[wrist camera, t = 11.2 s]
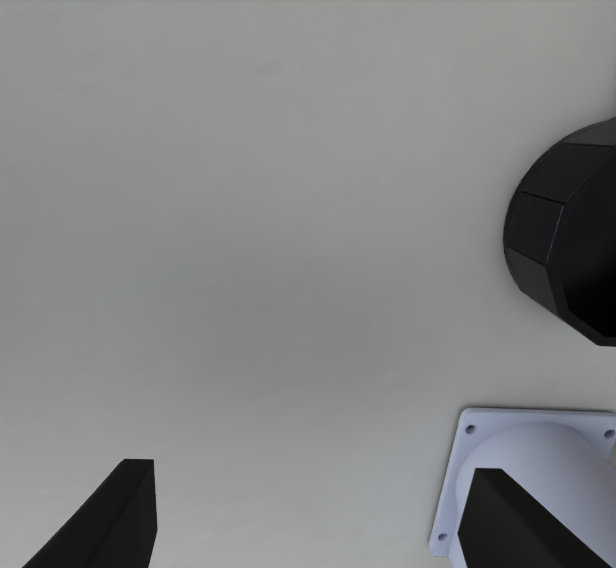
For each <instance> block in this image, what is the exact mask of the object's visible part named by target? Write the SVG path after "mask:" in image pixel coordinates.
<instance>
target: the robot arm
mask: <svg viewBox="0 0 616 568" xmlns="http://www.w3.org/2000/svg"><path fill="white" fill-rule="evenodd" d="M469 425H472V427H470V428H467V427H468V426H469ZM466 428H467V429H466ZM615 442H616V414H615V413H610V412H582V411H555V410H528V409H501V408H474V407H472V408H468V409H465V410H464V411H463V412H462V413H461V415H460V419H459V423H458V427H457V431H456V435H455V439H454V443H453V447H452V451H451V456H450V460H449V464H448V468H447V472H446V476H445V480H444V484H443V488H442V492H441V496H440V500H439V504H438V508H437V512H436V516H435V520H434V524H433V528H432V532H431V536H430V540H429V544H428V547H429V550H430V553H431V554H432V555H433V556H437V557H449V560H450V562H451V565H452V568H616V469H615V468H614V467H613V466H612V465H611V464H610V463H609V462H608V459H609V456H610V454H611V452H612V449H613V447H614V444H615ZM156 534H157V512H156V494H155V476H154V460H152V459H124V460H123V461H121V462H120V463H119V464H118V465H117V467H116V468H115V469H114V470H113V471H112V472H111V473H110V475H109V476H108V477H107V478H106V479H105V480H104V481H103V482H102V484H101V485H100V486H99V487H98V488H97V489H96V490H95V492H94V493H93V494H92V495H91V496H90V497H89V498H88V499H87V500H86V502H85V503H84V504H83V505H82V506H81V507H80V508H79V509H78V510H77V511H76V512H75V514H74V515H73V516H72V517H71V518H70V519H69V520H68V521H67V522H66V523H65V524H64V525H63V526H62V527H61V528H60V529H59V530H58V531H57V533H56V534H55V535H54V536H53V537H52V538H51V539H50V540H49V541H48V542H47V543H46V544H45V545H44V546H43V547H42V548H41V549H40V550H39V551H38V552H37V553H36V554H35V555H34V556H33V557H32V558H31V559H30V560H29V561H28V562H27V563H26V564H25V565H24V566H23V567H22V568H148V567H149V563H150V559H151V555H152V550H153V546H154V542H155V538H156Z"/></svg>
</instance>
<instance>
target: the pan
mask: <svg viewBox="0 0 616 568" xmlns="http://www.w3.org/2000/svg"><path fill="white" fill-rule="evenodd" d="M503 244H504V254H505V258H506V262H507V266H508V268H509V271H510V273H511V275H512V277H513V279H514V280H515V282H516V284H517V285H518V286H519V289H520V290H521V291H522V292H523V293H525V294H526V295H527V296H529V297H530V298H531V299H533V300H534V301H535V302H537V303H538V304H540V305H541V306H542V307H544V308H545V309H546V310H548V311H549V312H551V313H552V314H553V315H555V316H556V317H558V318H559V319H560V320H562V321H563V322H565V323H566V324H568V325H569V326H570V327H572V328H573V329H575V330H576V331H578V332H579V333H580V334H582V335H583V336H585V337H586V338H588V339H589V340H590V341H592V342H593V343H595V344H596V345H599V346H611V347H616V117H614V118H612V119H610V120H608V121H603V122H600V123H596V124H592V125H590V126H587V127H585V128H582V129H580V130H578V131H576V132H574V133H572V134H570V135H568V136H566V137H565V138H563V139H562V140H561V141H559V142H558V143H556V144H555V145H553V146H552V147H551V148H550V149H549V150H548V151H546V152H545V153H544V154H543V155H542V156H541V157H540V158H539V159H538V160H537V161H536V162H535V164H534V165H533V166H532V167H531V168H530V170H529V171H528V172H527V174H526V175H525V176H524V178H523V179H522V181H521V183H520V184H519V186H518V188H517V189H516V191H515V194H514V196H513V198H512V200H511V203H510V205H509V209H508V212H507V215H506V220H505V225H504V237H503Z"/></svg>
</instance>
